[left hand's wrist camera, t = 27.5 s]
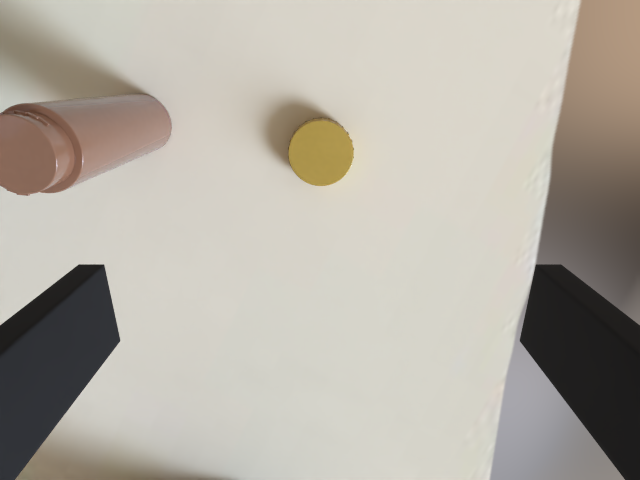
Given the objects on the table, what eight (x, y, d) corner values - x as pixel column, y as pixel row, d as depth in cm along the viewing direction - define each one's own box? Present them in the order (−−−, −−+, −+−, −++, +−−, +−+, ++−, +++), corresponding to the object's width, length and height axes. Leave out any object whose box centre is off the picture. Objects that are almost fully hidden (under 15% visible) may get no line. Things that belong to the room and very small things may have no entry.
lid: (355, 177, 40) (357, 182, 38) (293, 184, 40) (292, 190, 38) (349, 113, 37) (351, 115, 35) (284, 121, 38) (282, 124, 36)
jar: (114, 89, 37) (-42, 98, 21) (172, 98, 37) (60, 113, 21) (116, 146, 38) (-26, 195, 23) (171, 154, 39) (68, 207, 23)
